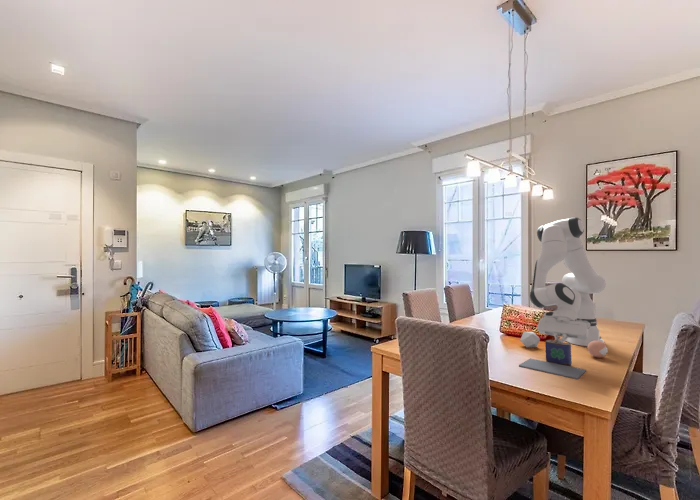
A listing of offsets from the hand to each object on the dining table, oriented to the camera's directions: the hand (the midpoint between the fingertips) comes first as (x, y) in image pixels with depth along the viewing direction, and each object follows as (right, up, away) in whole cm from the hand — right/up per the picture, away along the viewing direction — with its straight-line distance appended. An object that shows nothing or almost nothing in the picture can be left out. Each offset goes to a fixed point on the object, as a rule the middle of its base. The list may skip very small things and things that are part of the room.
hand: (558, 343), depth 154 cm
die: (+1, -10, +27) cm, 29 cm away
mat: (-8, -9, -8) cm, 14 cm away
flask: (-1, -9, -1) cm, 9 cm away
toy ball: (+24, -9, +8) cm, 27 cm away
